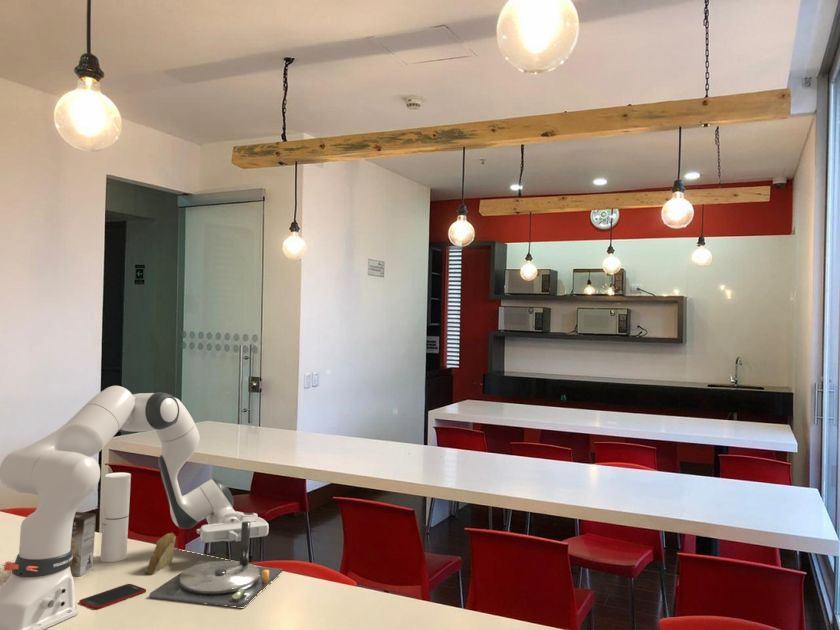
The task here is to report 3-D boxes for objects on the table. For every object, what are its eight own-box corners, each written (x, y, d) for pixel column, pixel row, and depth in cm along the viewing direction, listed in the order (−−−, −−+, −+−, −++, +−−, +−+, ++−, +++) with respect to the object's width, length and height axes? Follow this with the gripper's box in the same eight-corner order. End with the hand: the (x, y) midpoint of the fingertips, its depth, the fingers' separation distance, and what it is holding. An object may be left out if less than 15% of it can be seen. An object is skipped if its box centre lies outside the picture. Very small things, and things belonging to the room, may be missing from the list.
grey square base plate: (243, 608, 166) (244, 597, 166) (149, 597, 170) (150, 586, 170) (282, 573, 191) (282, 563, 192) (199, 564, 196) (200, 554, 196)
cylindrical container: (116, 563, 194) (120, 478, 195) (95, 560, 196) (99, 476, 196) (131, 555, 201) (135, 473, 202) (110, 553, 203) (115, 471, 203)
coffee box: (49, 574, 184) (52, 516, 184) (64, 566, 190) (67, 510, 190) (80, 576, 183) (83, 518, 183) (93, 568, 189) (97, 512, 190)
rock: (155, 570, 184) (186, 556, 192) (142, 542, 186) (173, 530, 194) (139, 585, 189) (170, 571, 197) (127, 558, 192) (158, 545, 200)
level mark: (267, 583, 180) (267, 572, 180) (260, 582, 180) (261, 571, 180) (269, 581, 182) (270, 570, 182) (263, 580, 182) (264, 569, 182)
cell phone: (77, 604, 165) (77, 600, 165) (129, 586, 178) (129, 583, 178) (96, 611, 161) (96, 607, 161) (147, 593, 174) (147, 589, 174)
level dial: (239, 597, 169) (241, 544, 169) (164, 589, 172) (166, 537, 173) (270, 569, 189) (273, 522, 190) (203, 562, 193) (205, 516, 193)
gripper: (195, 519, 201) (205, 531, 189) (261, 512, 212) (274, 523, 200) (194, 539, 201) (204, 553, 189) (260, 532, 211) (273, 544, 199)
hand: (241, 538), depth 194 cm, fingers closed
